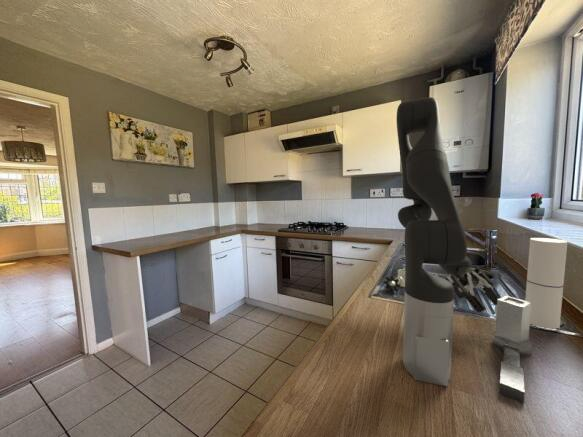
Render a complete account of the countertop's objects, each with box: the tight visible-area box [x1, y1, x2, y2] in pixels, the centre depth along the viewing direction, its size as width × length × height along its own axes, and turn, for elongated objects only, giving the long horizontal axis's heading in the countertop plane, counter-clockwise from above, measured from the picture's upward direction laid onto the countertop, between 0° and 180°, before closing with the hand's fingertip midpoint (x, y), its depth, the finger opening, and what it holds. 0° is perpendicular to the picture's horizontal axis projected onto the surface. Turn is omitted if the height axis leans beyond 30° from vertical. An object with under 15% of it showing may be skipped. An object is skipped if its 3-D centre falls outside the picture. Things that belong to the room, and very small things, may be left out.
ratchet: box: [492, 330, 533, 404], centre depth 53 cm, size 24×7×6 cm, turn 137°
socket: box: [494, 295, 531, 346], centre depth 59 cm, size 5×5×10 cm
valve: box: [383, 268, 405, 293], centre depth 98 cm, size 7×7×12 cm
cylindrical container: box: [524, 237, 568, 329], centre depth 68 cm, size 7×7×25 cm
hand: (490, 307), depth 63 cm, fingers open, 8 cm apart
